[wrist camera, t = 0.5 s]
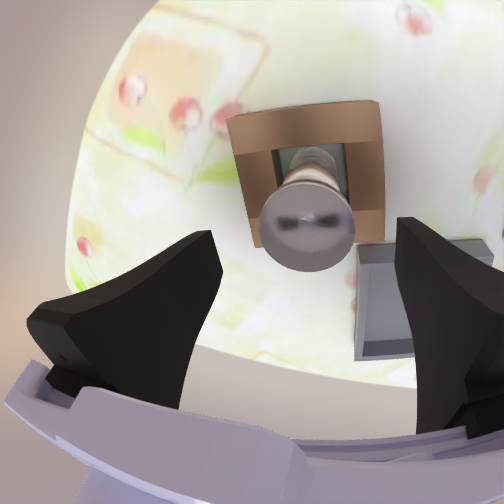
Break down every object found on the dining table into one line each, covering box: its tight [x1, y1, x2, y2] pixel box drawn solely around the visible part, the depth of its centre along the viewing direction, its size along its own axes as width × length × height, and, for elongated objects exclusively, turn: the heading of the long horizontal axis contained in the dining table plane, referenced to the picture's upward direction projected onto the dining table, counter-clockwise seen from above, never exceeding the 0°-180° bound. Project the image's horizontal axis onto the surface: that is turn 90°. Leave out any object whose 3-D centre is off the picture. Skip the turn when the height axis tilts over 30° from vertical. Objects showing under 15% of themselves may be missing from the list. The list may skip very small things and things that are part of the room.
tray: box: [354, 239, 494, 361], centre depth 21 cm, size 11×11×2 cm
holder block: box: [226, 100, 385, 248], centre depth 18 cm, size 9×9×2 cm
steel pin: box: [258, 147, 355, 272], centre depth 15 cm, size 4×4×9 cm
